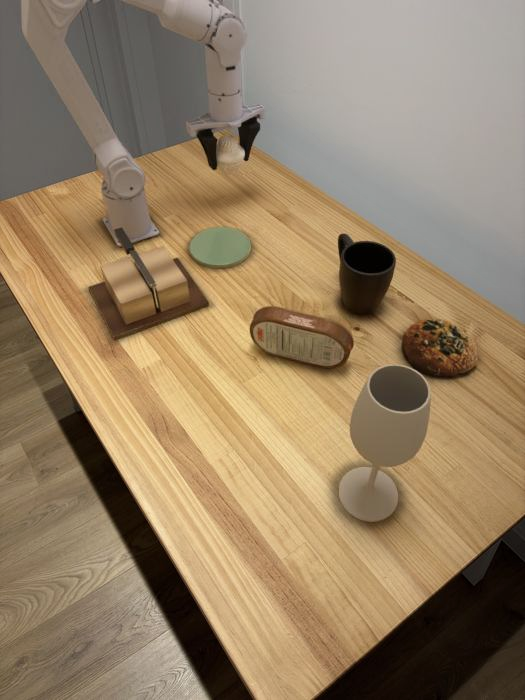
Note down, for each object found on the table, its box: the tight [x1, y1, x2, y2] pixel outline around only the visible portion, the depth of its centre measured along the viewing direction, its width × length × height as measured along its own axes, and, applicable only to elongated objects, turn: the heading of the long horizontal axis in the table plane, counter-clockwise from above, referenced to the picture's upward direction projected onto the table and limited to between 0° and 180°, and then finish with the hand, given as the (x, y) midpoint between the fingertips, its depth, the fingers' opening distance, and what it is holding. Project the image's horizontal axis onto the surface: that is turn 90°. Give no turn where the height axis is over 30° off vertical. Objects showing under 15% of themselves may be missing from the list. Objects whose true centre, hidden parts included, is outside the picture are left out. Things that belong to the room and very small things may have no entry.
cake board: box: [87, 245, 210, 341], centre depth 89 cm, size 13×16×5 cm
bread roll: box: [401, 318, 479, 377], centre depth 82 cm, size 11×11×5 cm
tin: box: [249, 305, 355, 369], centre depth 79 cm, size 15×3×8 cm, turn 71°
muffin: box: [216, 134, 245, 176], centre depth 102 cm, size 6×6×7 cm
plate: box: [188, 226, 252, 269], centre depth 99 cm, size 11×11×1 cm
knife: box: [114, 227, 159, 309], centre depth 90 cm, size 16×1×5 cm, turn 29°
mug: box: [337, 232, 397, 316], centre depth 87 cm, size 8×12×10 cm
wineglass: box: [338, 363, 432, 523], centre depth 60 cm, size 8×8×21 cm
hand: (228, 163), depth 103 cm, fingers closed on muffin, 6 cm apart
